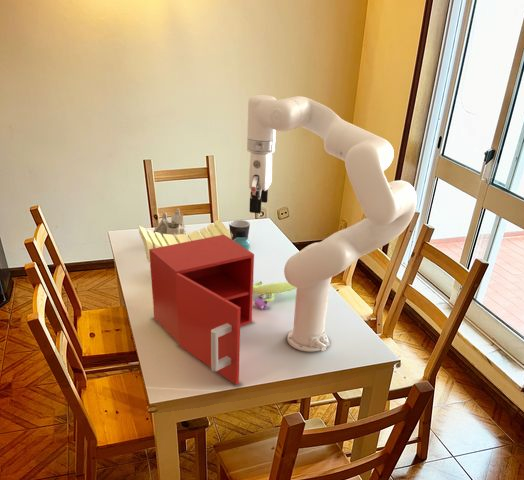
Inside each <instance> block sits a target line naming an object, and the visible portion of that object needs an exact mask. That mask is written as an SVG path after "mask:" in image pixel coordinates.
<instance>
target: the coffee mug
mask: <svg viewBox="0 0 524 480" xmlns="http://www.w3.org/2000/svg"><path fill="white" fill-rule="evenodd" d="M250 225H251V222H249V221H247V220H243V219H234V220H231V221H229V222H228V227H229V232H230V234H231V239H232V240H234V239H235V238H237V237H236V236H235V233H236V229H239V228H243V229H246V230H247V236H246V237H245V238H247V239H248V240H249V235H250Z"/></svg>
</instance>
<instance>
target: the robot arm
mask: <svg viewBox="0 0 524 480" xmlns="http://www.w3.org/2000/svg"><path fill="white" fill-rule="evenodd" d="M247 103H248V106H247V135H246V141H247V142H246V151H247V152H248V153H249V154H250V155H249V157H250V158H249V175H248V178H249V179H248V188H249V190H250V195H249V213H251V214H261V213H262V203H265V204H267V203H268V195H269V188H270V186H271V184H272V181H273V153H275V152H276V149H275V148H276V131H277V132H283V133H284V132H288V131H291V130H294V129H297V128H303V129H305V130H307V131H309V132H312V133H313V134H316V135H317V136H318V137H320V138H321V140H323V149H324V151H325V152H326V154H329V155H331V156H332V157H335V158H336V159H339V160H341V161H343V162H344V166H345V167H344V168H345V170H346V175H347V178H348V179H349V183H350V185H351V187H352V190H353V192H354V194H355V197H356V199H357V202H358V204H359V205H360V208H361V210H362V213H363V214H364V216H365V218H363V219H362V220H360V221H358V222H356V223H354V224H352V225H350V226H347V227H346V228H343V229H341V230H338V231H336V232H334V233H332V234H331V235H329V236H327V237H326V238H324V239H323V240H321V241H318V242H313V243H311V244H308V245H307V246H305V247H304V248H302V249H300V250H299V251H298V252H296V253H295V254H293V255H292V256H290V257H289V258H288V259H287V260H286V262H285V264H284V269H283V274H284V277H285V280H286V282H288V283H289V284H291V285H292V286H294V287H296V293H295V302H294V313H293V324H292V325H293V326H292V330H290V331H289V332H288V334H287V337H286V338H287V339H286V340H287V343H288V344H289V345H290V346H291V347H292V348H294V349H296V350H299V351H301V352H306V353H307V352H309V353H310V352H311V353H312V352H319V351H322V352H325V351H326V350H327V348H328V347H329V346H330V344H331V342H330V341H329V337H328V336H327V332H325V328H326V327H325V326H326V320H327V313H328V312H327V311H328V304H329V303H328V302H329V296H330V289H331V282H332V278H333V277H335V276H337V275H339V274H341V273H342V272H344V271H346V270H347V269H348V268H349V267H350V266H352V265H353V264H354V263H356V261H358V260H359V259H360V258H362V257H364V256H366V255H368V254H371V253H373V252H375V251H377V250H378V249H380V248H382V247H384V246H386V245H387V244H389V243H391V242H392V241H394V240H395V239H397V238H398V237H399V236H400V235H401V234H403V232H405V230H407V228H408V226H409V225H410V224H411V222H412V220H413V218H414V215H415V212H416V208H417V193H416V190H415V188H414V187H413V185H412V184H411V183H409V182H408V181H405V180H393V181H390V182H388V180H387V176H386V174H385V171H386V170H387V169H388V168H389V167H390V165H391V164H392V161H393V159H394V148H393V146H392V144H391V143H390V141H388V140H387V139H385V138H383V137H381V136H379V135H377V134H375V133H372V132H370V131H368V130H366V129H363V128H362V127H360V126H357V125H356V124H354V123H350V122H349V121H346V120H345V119H342V118H341V117H340V116H339V115H338V114H337V113H336V112H335V111H334V110H332V109H331V108H330V107H329V106H326V105H325V104H322V103H321V102H318V101H316V100H314V99H311V98H309V97H306V96H302V95H296V96H290V97H285V98H281V99H277V98H276V97H275V96H272V95H269V94H254V95H251V96H250V97H249V98H248V102H247Z"/></svg>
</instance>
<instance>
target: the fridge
mask: <svg viewBox="0 0 524 480" xmlns="http://www.w3.org/2000/svg"><path fill="white" fill-rule="evenodd" d="M149 253H150V262H149V264H150V279H151V292H152V305H153V307H152V308H153V319H154V320H155V321H156V322H157V323H158V324H159V325H160V326H161V327H162V328H163V330H165V332H167V333H168V334H169V335H170V336H171V337H172V338H173V339H174V341H176V343H177V344H179V332H178V311H177V289H176V273H180V274H182V275H183V276H185V277H187V278H189V279H191V280H192V281H194V282H196V283H198V284H199V285H201V286H203V287H205V288H207V289H208V290H210V291H212V292H214V293H216V294H217V295H219V296H221V297H223V298H224V299H226V300H228V301H230V302H232V303H233V304H235V305H237V306H239V307H240V308H241V309H240V327H242V326H246V325H249V324H252V322H253V295H254V293H253V285H254V269H255V268H254V266H255V264H254V263H255V254H254V253H253V252H252V251H251V250H250V249H249V250H247V249H245V248H244V247H242V246H241V245H239V244H238V243H236V242H235V241H233V240H232V239H230V238H228V237H227V236H225V235H219V236H214V237H209V238H203V239H199V240H194V241H189V242H184V243H179V244H174V245H169V246H163V247H158V248H153V249H149Z"/></svg>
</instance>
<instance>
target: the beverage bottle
mask: <svg viewBox="0 0 524 480" xmlns="http://www.w3.org/2000/svg"><path fill="white" fill-rule="evenodd" d="M235 236H236V237H237V238H235V239H234V240H233V241H235V242H236V243H238V244H239V245H241V246H242V247H244V248H245V249H247V250H249V251H250V244H251V242H250V240H249V238H248V239H247V238H245V237H246V236H247V230H246V229H243V228H239V229H236V233H235Z"/></svg>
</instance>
